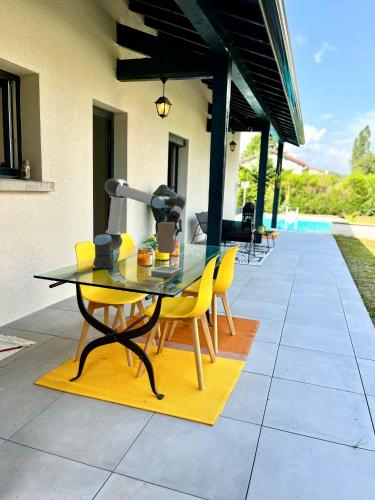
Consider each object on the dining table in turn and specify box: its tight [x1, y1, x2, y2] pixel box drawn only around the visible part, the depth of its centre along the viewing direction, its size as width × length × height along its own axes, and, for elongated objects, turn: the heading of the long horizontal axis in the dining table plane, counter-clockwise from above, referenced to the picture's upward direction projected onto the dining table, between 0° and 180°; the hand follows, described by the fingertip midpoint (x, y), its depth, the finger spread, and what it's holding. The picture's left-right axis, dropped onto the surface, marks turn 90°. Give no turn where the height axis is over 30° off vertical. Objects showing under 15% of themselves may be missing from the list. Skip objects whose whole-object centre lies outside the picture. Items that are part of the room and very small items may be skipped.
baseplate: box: [150, 265, 182, 279], centre depth 257 cm, size 15×15×4 cm
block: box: [157, 221, 176, 254], centre depth 252 cm, size 10×10×20 cm
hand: (164, 238), depth 250 cm, fingers closed on block, 12 cm apart
